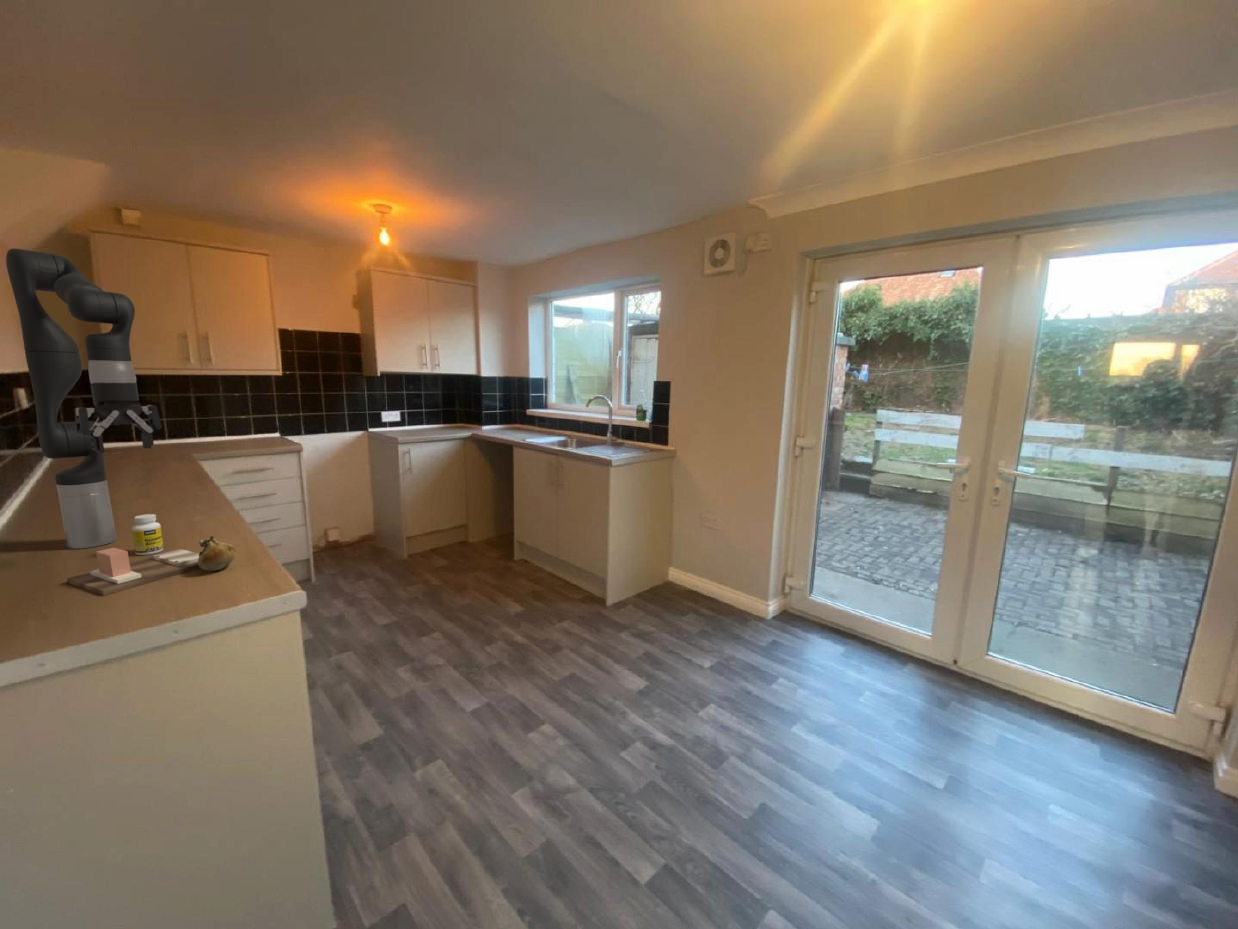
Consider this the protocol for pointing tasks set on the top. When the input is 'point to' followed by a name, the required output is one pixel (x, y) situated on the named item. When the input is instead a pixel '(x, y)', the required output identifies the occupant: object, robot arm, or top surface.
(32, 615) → the top surface
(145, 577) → the board
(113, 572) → the pink and white block
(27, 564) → the top surface
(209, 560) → the onion
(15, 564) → the top surface
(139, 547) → the supplement bottle
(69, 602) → the top surface
